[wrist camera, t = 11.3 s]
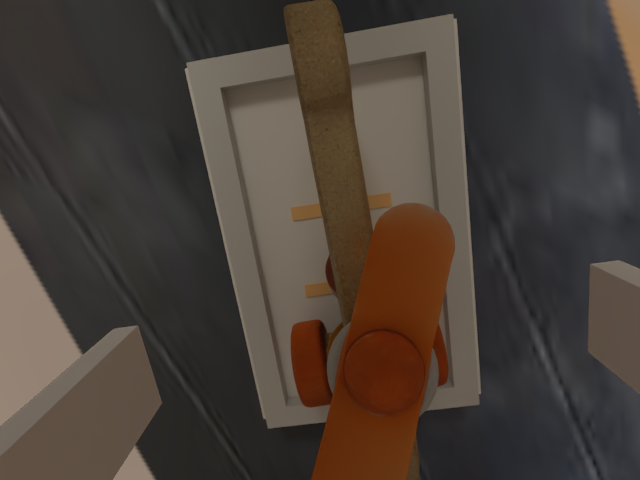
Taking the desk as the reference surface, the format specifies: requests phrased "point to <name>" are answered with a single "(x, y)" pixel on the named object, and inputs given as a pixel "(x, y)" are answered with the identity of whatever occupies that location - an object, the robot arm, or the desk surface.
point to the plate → (302, 198)
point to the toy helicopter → (364, 281)
